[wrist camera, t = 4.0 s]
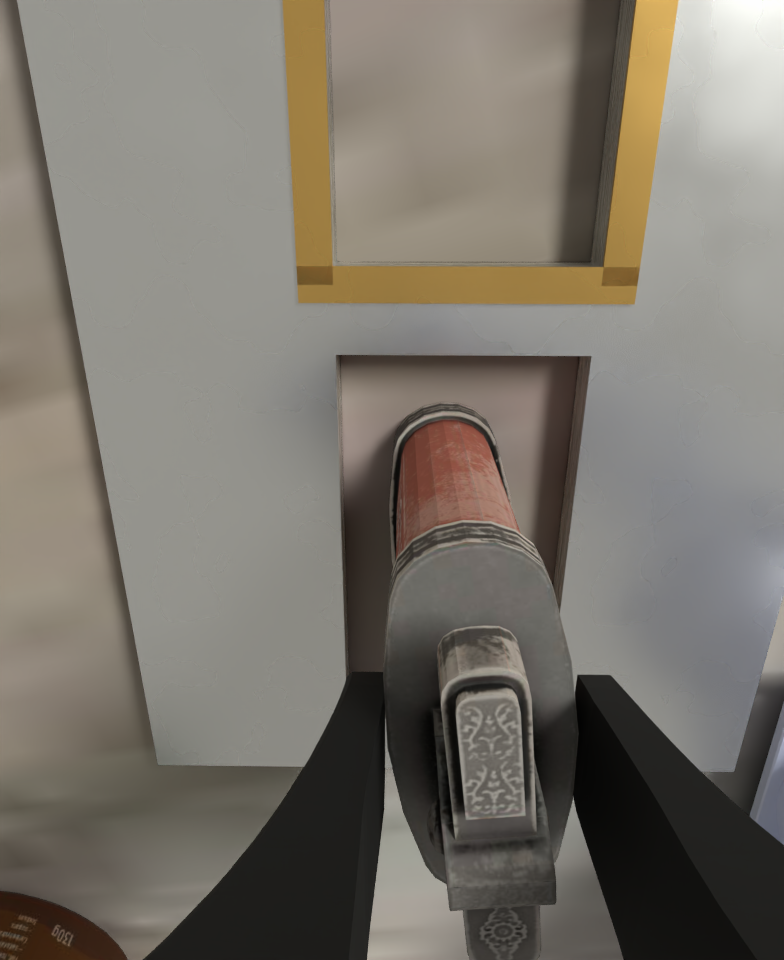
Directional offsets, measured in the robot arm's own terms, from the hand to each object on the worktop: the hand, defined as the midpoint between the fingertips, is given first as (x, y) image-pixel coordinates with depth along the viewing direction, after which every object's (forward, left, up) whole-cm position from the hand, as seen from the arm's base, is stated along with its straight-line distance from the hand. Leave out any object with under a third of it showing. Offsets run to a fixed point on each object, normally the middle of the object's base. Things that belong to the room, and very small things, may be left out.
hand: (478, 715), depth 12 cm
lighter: (0, 0, -7) cm, 7 cm away
